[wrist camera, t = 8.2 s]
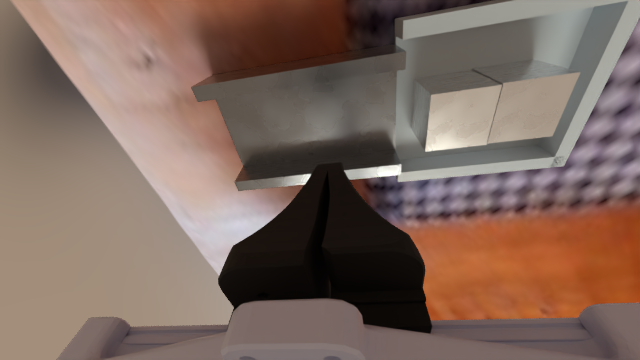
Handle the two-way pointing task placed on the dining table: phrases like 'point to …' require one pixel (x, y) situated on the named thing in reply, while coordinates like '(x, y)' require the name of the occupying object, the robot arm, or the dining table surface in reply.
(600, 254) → the dining table surface
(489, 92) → the cream cube
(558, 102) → the beige cube
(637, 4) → the tray
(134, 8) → the dining table surface
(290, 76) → the rail
